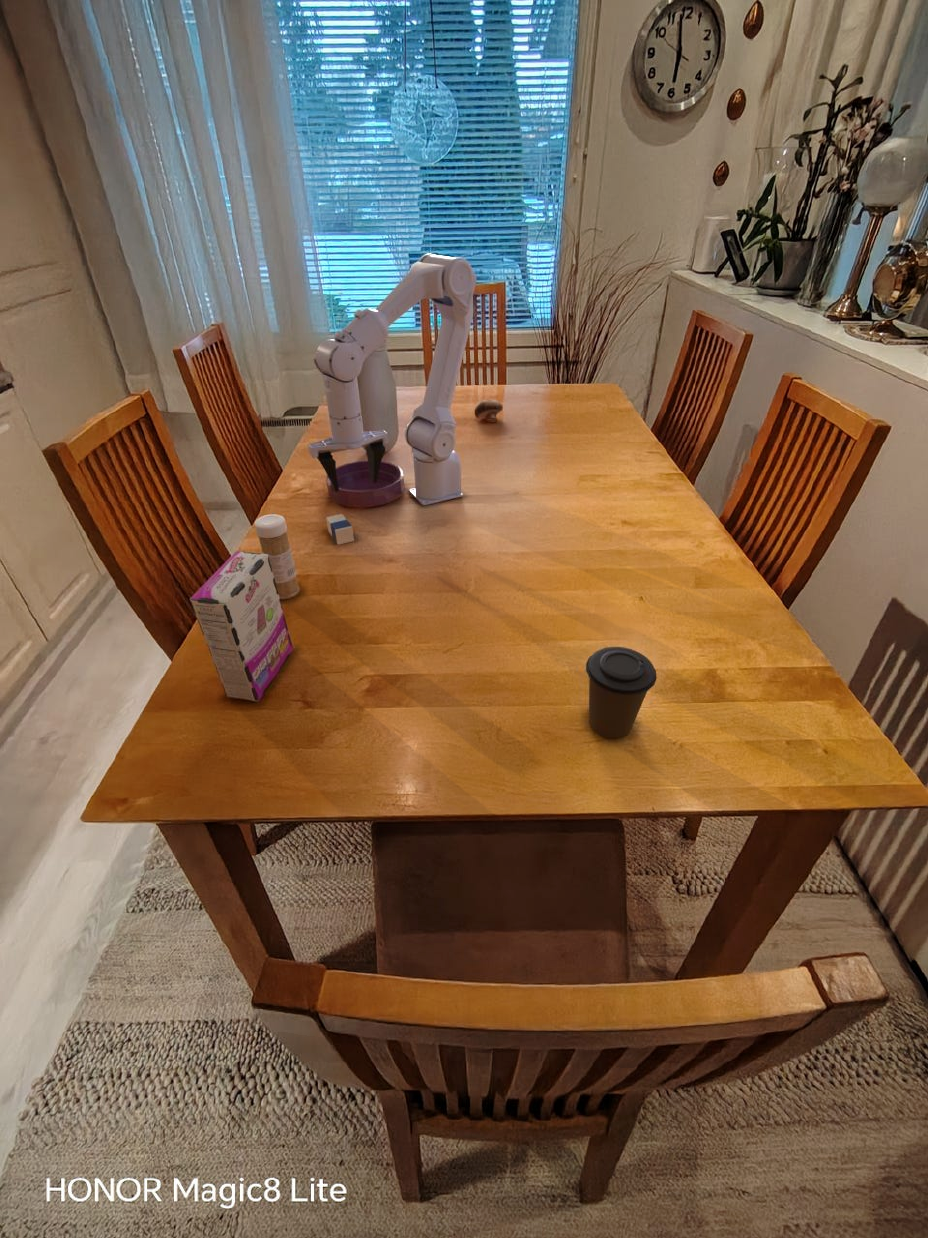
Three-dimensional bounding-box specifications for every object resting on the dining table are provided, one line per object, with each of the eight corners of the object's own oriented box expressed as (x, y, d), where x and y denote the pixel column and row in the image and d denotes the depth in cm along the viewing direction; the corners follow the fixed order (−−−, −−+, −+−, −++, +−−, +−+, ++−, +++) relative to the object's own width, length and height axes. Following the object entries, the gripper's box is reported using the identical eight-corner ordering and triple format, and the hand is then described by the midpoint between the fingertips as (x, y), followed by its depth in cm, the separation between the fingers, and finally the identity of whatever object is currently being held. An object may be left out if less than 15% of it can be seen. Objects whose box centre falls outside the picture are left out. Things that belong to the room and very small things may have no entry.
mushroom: (504, 414, 158) (496, 391, 157) (476, 425, 160) (469, 403, 159) (508, 420, 166) (501, 398, 165) (482, 430, 168) (474, 409, 167)
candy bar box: (262, 645, 87) (235, 549, 77) (294, 650, 86) (271, 552, 76) (223, 699, 78) (186, 597, 68) (258, 704, 77) (226, 602, 67)
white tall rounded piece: (383, 462, 141) (371, 335, 124) (351, 453, 145) (335, 330, 129) (408, 448, 148) (399, 326, 131) (376, 441, 152) (364, 322, 135)
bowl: (388, 472, 136) (386, 455, 134) (416, 499, 125) (415, 481, 123) (319, 486, 131) (317, 469, 128) (342, 516, 119) (340, 497, 117)
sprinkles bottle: (286, 582, 100) (270, 510, 92) (306, 590, 98) (291, 517, 90) (266, 595, 97) (247, 522, 89) (285, 603, 95) (268, 529, 87)
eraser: (328, 531, 114) (325, 517, 112) (344, 527, 115) (342, 513, 113) (337, 545, 110) (335, 530, 108) (354, 541, 111) (352, 526, 109)
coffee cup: (657, 728, 73) (673, 668, 67) (611, 758, 69) (624, 697, 63) (608, 690, 78) (620, 632, 72) (564, 717, 75) (572, 657, 69)
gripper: (311, 428, 99) (324, 501, 107) (391, 413, 104) (397, 485, 113) (300, 416, 104) (313, 487, 112) (377, 402, 109) (384, 472, 118)
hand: (354, 485), depth 113 cm, fingers open, 7 cm apart
